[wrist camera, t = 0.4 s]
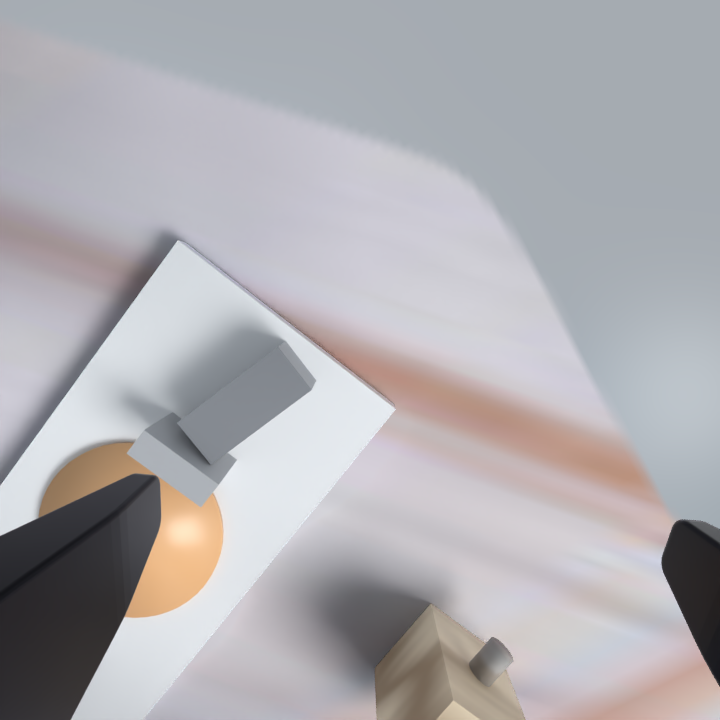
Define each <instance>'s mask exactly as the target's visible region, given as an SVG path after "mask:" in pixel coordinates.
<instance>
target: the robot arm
mask: <svg viewBox="0 0 720 720" xmlns="http://www.w3.org/2000/svg"><path fill="white" fill-rule="evenodd" d="M160 524H161V490H160V480H159V478H158V477H157V476H156V475H150V474H138V473H135V474H131V475H129V476H127V477H124V478H122V479H120V480H118V481H116V482H114V483H112V484H110V485H107V486H105V487H103V488H101V489H99V490H97V491H95V492H92V493H90V494H88V495H86V496H84V497H82V498H80V499H78V500H75V501H73V502H71V503H69V504H67V505H65V506H63V507H60V508H58V509H56V510H54V511H52V512H50V513H48V514H46V515H43V516H41V517H39V518H37V519H35V520H33V521H31V522H29V523H26V524H24V525H22V526H20V527H18V528H16V529H14V530H11V531H9V532H7V533H5V534H3V535H1V536H0V720H71V719H72V717H73V715H74V713H75V711H76V709H77V707H78V705H79V703H80V701H81V699H82V698H83V696H84V694H85V692H86V690H87V688H88V686H89V684H90V682H91V680H92V678H93V677H94V675H95V673H96V671H97V669H98V667H99V665H100V663H101V661H102V659H103V657H104V656H105V654H106V652H107V650H108V648H109V646H110V644H111V642H112V640H113V638H114V637H115V635H116V633H117V631H118V629H119V627H120V625H121V623H122V621H123V619H124V617H125V615H126V612H127V610H128V608H129V605H130V603H131V600H132V598H133V595H134V593H135V590H136V588H137V585H138V583H139V580H140V578H141V575H142V572H143V570H144V567H145V565H146V562H147V560H148V557H149V555H150V552H151V550H152V547H153V544H154V542H155V539H156V537H157V534H158V532H159V528H160ZM661 563H662V569H663V573H664V575H665V577H666V579H667V581H668V584H669V586H670V588H671V590H672V592H673V594H674V596H675V599H676V601H677V603H678V605H679V607H680V609H681V611H682V614H683V616H684V618H685V620H686V622H687V624H688V627H689V629H690V631H691V633H692V635H693V637H694V639H695V642H696V644H697V646H698V648H699V650H700V652H701V654H702V656H703V658H704V660H705V662H706V663H707V665H708V667H709V669H710V671H711V672H712V674H713V676H714V678H715V679H716V681H717V683H718V685H719V686H720V529H718V528H716V527H714V526H712V525H710V524H708V523H706V522H703V521H696V520H683V519H682V520H678V521H677V522H675V524H674V525H673V527H672V530H671V532H670V535H669V538H668V541H667V544H666V547H665V549H664V552H663V555H662V562H661Z"/></svg>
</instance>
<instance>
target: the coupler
mask: <svg viewBox="0 0 720 720" xmlns="http://www.w3.org/2000/svg"><path fill="white" fill-rule="evenodd" d="M512 662H513V657H512V655H511V654H510V652H509V651H508V649H507V648H506V647H505V646H504V645H503V644H502V643H501V642H500V641H499V640H498V639H496V638H494V637H491V639H490V640H489V641H488V642H487V643H486V644H485V643H484V642H483V641H481V640H480V639H478V638H477V637H476V636H474V635H473V634H472V633H470V632H469V631H468V630H466V629H465V628H464V627H462V626H461V625H460V624H458V623H457V622H455V621H454V620H453V619H451V618H450V617H449V616H447V615H446V614H445V613H443V612H442V611H441V610H439V609H438V608H437V607H435V606H434V605H433V604H430V605H429V606H428V607H427V608H426V609H425V611H424V612H423V613H422V614H421V615H420V616H419V618H418V619H417V620H416V621H415V622H414V623H413V624H412V626H411V627H410V628H409V629H408V630H407V631H406V633H405V634H404V635H403V636H402V637H401V638H400V639H399V641H398V642H397V643H396V644H395V645H394V646H393V648H392V649H391V650H390V651H389V652H388V653H387V654H386V656H385V657H384V658H383V659H382V660H381V661H380V663H379V664H378V665H377V666H376V667H375V690H376V714H377V720H525V717H524V714H523V712H522V709H521V707H520V704H519V702H518V699H517V697H516V694H515V691H514V689H513V686H512V684H511V681H510V679H509V676H508V674H507V671H506V668H507V667H508V666H509V665H510V664H511V663H512Z"/></svg>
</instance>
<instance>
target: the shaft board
mask: <svg viewBox="0 0 720 720" xmlns="http://www.w3.org/2000/svg"><path fill="white" fill-rule="evenodd" d="M394 411H395V405H394V404H393V403H392V402H391V401H389V400H388V399H387V398H385V397H384V396H383V395H382V394H380V393H379V392H378V391H376V390H375V389H374V388H373V387H371V386H370V385H369V384H367V383H366V382H365V381H363V380H362V379H361V378H360V377H358V376H357V375H356V374H354V373H353V372H352V371H351V370H349V369H348V368H347V367H345V366H344V365H343V364H342V363H340V362H339V361H338V360H336V359H335V358H334V357H333V356H331V355H330V354H329V353H327V352H326V351H325V350H324V349H322V348H321V347H320V346H318V345H317V344H316V343H315V342H313V341H312V340H311V339H309V338H308V337H307V336H306V335H304V334H303V333H302V332H300V331H299V330H298V329H296V328H295V327H294V326H293V325H291V324H290V323H289V322H287V321H286V320H285V319H284V318H282V317H281V316H280V315H278V314H277V313H276V312H275V311H273V310H272V309H271V308H269V307H268V306H267V305H266V304H264V303H263V302H262V301H260V300H259V299H258V298H257V297H255V296H254V295H253V294H251V293H250V292H249V291H248V290H246V289H245V288H244V287H242V286H241V285H240V284H239V283H237V282H236V281H235V280H233V279H232V278H231V277H229V276H228V275H227V274H226V273H224V272H223V271H222V270H220V269H219V268H218V267H217V266H215V265H214V264H213V263H211V262H210V261H209V260H208V259H206V258H205V257H204V256H202V255H201V254H200V253H199V252H197V251H196V250H195V249H193V248H192V247H191V246H190V245H188V244H187V243H185V242H182V241H179V240H178V241H177V242H176V243H175V245H174V246H173V248H172V249H171V250H170V252H169V253H168V254H167V256H166V257H165V259H164V260H163V261H162V263H161V264H160V265H159V267H158V268H157V270H156V271H155V272H154V274H153V275H152V277H151V278H150V279H149V281H148V282H147V283H146V285H145V286H144V288H143V289H142V290H141V292H140V293H139V295H138V296H137V297H136V299H135V300H134V301H133V303H132V304H131V306H130V307H129V308H128V310H127V311H126V312H125V314H124V315H123V317H122V318H121V319H120V321H119V322H118V324H117V325H116V326H115V328H114V329H113V330H112V332H111V333H110V335H109V336H108V337H107V339H106V340H105V342H104V343H103V344H102V346H101V347H100V348H99V350H98V351H97V353H96V354H95V355H94V357H93V358H92V359H91V361H90V362H89V364H88V365H87V366H86V368H85V369H84V371H83V372H82V373H81V375H80V376H79V377H78V379H77V380H76V382H75V383H74V384H73V386H72V387H71V389H70V390H69V391H68V393H67V394H66V395H65V397H64V398H63V400H62V401H61V402H60V404H59V405H58V407H57V408H56V409H55V411H54V412H53V413H52V415H51V416H50V418H49V419H48V420H47V422H46V423H45V424H44V426H43V427H42V429H41V430H40V431H39V433H38V434H37V436H36V437H35V438H34V440H33V441H32V442H31V444H30V445H29V447H28V448H27V449H26V451H25V452H24V454H23V455H22V456H21V458H20V459H19V460H18V462H17V463H16V465H15V466H14V467H13V469H12V470H11V471H10V473H9V474H8V476H7V477H6V478H5V480H4V481H3V483H2V484H1V485H0V536H1V535H3V534H5V533H7V532H9V531H11V530H14V529H16V528H18V527H20V526H22V525H24V524H26V523H29V522H31V521H33V520H35V519H37V518H39V517H41V516H43V515H46V514H48V513H50V512H52V511H54V510H56V509H58V508H60V507H63V506H65V505H67V504H69V503H71V502H73V501H75V500H78V499H80V498H82V497H84V496H86V495H88V494H90V493H92V492H95V491H97V490H99V489H101V488H103V487H105V486H107V485H110V484H112V483H114V482H116V481H118V480H120V479H122V478H124V477H127V476H129V475H131V474H135V473H138V474H150V475H156V476H157V477H158V478H159V480H160V490H161V524H160V528H159V532H158V534H157V537H156V539H155V542H154V544H153V547H152V550H151V552H150V555H149V557H148V560H147V562H146V565H145V567H144V570H143V572H142V575H141V578H140V580H139V583H138V585H137V588H136V590H135V593H134V595H133V598H132V600H131V603H130V605H129V608H128V610H127V612H126V615H125V617H124V619H123V621H122V623H121V625H120V627H119V629H118V631H117V633H116V635H115V637H114V638H113V640H112V642H111V644H110V646H109V648H108V650H107V652H106V654H105V656H104V657H103V659H102V661H101V663H100V665H99V667H98V669H97V671H96V673H95V675H94V677H93V678H92V680H91V682H90V684H89V686H88V688H87V690H86V692H85V694H84V696H83V698H82V699H81V701H80V703H79V705H78V707H77V709H76V711H75V713H74V715H73V717H72V719H71V720H143V719H144V718H145V717H146V716H147V714H148V713H149V712H150V711H151V710H152V708H153V707H154V706H155V705H156V703H157V702H158V701H159V700H160V698H161V697H162V696H163V695H164V694H165V692H166V691H167V690H168V689H169V687H170V686H171V685H172V684H173V682H174V681H175V680H176V679H177V678H178V676H179V675H180V674H181V673H182V671H183V670H184V669H185V668H186V666H187V665H188V664H189V663H190V662H191V660H192V659H193V658H194V657H195V655H196V654H197V653H198V652H199V650H200V649H201V648H202V647H203V646H204V644H205V643H206V642H207V641H208V639H209V638H210V637H211V636H212V634H213V633H214V632H215V631H216V630H217V628H218V627H219V626H220V625H221V623H222V622H223V621H224V620H225V618H226V617H227V616H228V615H229V614H230V612H231V611H232V610H233V609H234V607H235V606H236V605H237V604H238V603H239V601H240V600H241V599H242V598H243V596H244V595H245V594H246V593H247V591H248V590H249V589H250V588H251V587H252V585H253V584H254V583H255V582H256V580H257V579H258V578H259V577H260V575H261V574H262V573H263V572H264V571H265V569H266V568H267V567H268V566H269V564H270V563H271V562H272V561H273V559H274V558H275V557H276V556H277V555H278V553H279V552H280V551H281V550H282V548H283V547H284V546H285V545H286V543H287V542H288V541H289V540H290V539H291V537H292V536H293V535H294V534H295V532H296V531H297V530H298V529H299V527H300V526H301V525H302V524H303V523H304V521H305V520H306V519H307V518H308V516H309V515H310V514H311V513H312V511H313V510H314V509H315V508H316V507H317V505H318V504H319V503H320V502H321V500H322V499H323V498H324V497H325V495H326V494H327V493H328V492H329V491H330V489H331V488H332V487H333V486H334V484H335V483H336V482H337V481H338V480H339V478H340V477H341V476H342V475H343V473H344V472H345V471H346V470H347V468H348V467H349V466H350V465H351V464H352V462H353V461H354V460H355V459H356V457H357V456H358V455H359V454H360V452H361V451H362V450H363V449H364V448H365V446H366V445H367V444H368V443H369V441H370V440H371V439H372V438H373V436H374V435H375V434H376V433H377V432H378V430H379V429H380V428H381V427H382V425H383V424H384V423H385V422H386V420H387V419H388V418H389V417H390V416H391V414H392V413H393V412H394Z"/></svg>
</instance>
